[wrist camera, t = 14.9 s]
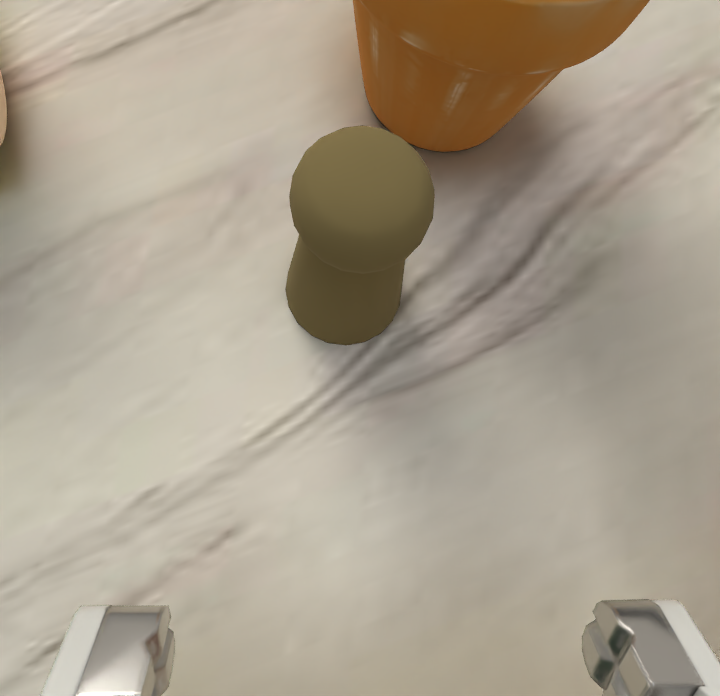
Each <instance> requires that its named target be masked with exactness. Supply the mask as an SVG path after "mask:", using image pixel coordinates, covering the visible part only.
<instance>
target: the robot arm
mask: <svg viewBox="0 0 720 696" xmlns="http://www.w3.org/2000/svg"><path fill="white" fill-rule="evenodd" d="M593 614H594V616H595V618H596V619H595V620H594V621H592V622H591V623H589V624H588V625H587V626H586V627H585V630H584V633H583V635H582V653H583V657H584V661H585V664H586V667H587V670H588V672H589V675H590V677H591V678H592V679H593V680H594V681H595V682H596V683H597V684H598V685H599V686H600V687H601V688H603V694H602V696H720V662H719V660H718V659H717V657H716V656H715V654H714V653H713V651H712V649H711V648H710V646H709V645H708V643H707V641H706V640H705V638H704V637H703V635H702V633H701V632H700V630H699V629H698V627H697V626H696V624H695V622H694V621H693V619H692V618H691V616H690V614H689V613H688V611H687V610H686V608H685V607H684V605H682V604H681V603H680V602H679V601H678V600H672V599H667V600H649V599H639V600H605V601H600V602H598V603H597V604H596V606H595V608H594V610H593ZM170 619H171V614H170V609H169V606H112V605H89V606H80V607H79V609H78V610H77V611H76V613H75V614H74V616H73V618H72V620H71V623H70V625H69V627H68V630H67V632H66V634H65V637H64V639H63V642H62V644H61V646H60V649H59V651H58V654H57V656H56V658H55V661H54V663H53V666H52V668H51V670H50V673H49V675H48V678H47V680H46V682H45V685H44V687H43V690H42V692H41V694H40V696H161V695H162V694H163V693H164V692H165V691H166V690H167V688H168V687H169V684H170V679H171V675H172V670H173V662H174V654H175V639H174V632H173V631H172V630H171V629H169V628H168V627H169V623H170Z"/></svg>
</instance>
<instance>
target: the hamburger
mask: <svg viewBox="0 0 720 696" xmlns="http://www.w3.org/2000/svg"><path fill="white" fill-rule="evenodd" d="M6 127H7V105H6V97H5V89H4V84H3V79H2V74H1V70H0V146H1V144H2V142H3V140H4V137H5V132H6Z"/></svg>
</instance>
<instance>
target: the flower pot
mask: <svg viewBox="0 0 720 696" xmlns="http://www.w3.org/2000/svg"><path fill="white" fill-rule="evenodd" d="M649 1H650V0H353V5H354V14H355V22H356V30H357V38H358V46H359V54H360V61H361V68H362V76H363V82H364V88H365V92H366V96H367V99H368V102H369V104H370V106H371V108H372V110H373V111H374V113H375V114H376V116H377V117H378V119H379V120H380V121H381V122H382V123H383V124H384V126H385V127H387V128H388V129H389V130H390V131H391V132H392V133H394V134H395V135H398V136H400V137H401V138H402V139H403V140H405V141H406V142H408V143H410V144H412V145H414V146H417V147H420V148H424V149H427V150H433V151H441V152H449V151H459V150H465V149H468V148H471V147H474V146H477V145H479V144H481V143H483V142H485V141H486V140H488V139H489V138H491V137H492V136H493V135H494V134H495V133H497V132H498V131H499V130H500V129H501V128H502V127H503V126H504V125H505V124H507V123H508V122H509V121H510V120H511V119H512V118H513V117H514V116H515V115H516V114H517V113H518V112H519V111H520V110H521V109H523V108H524V107H525V106H526V105H527V104H528V103H529V102H530V101H531V100H532V99H533V98H534V97H535V96H536V95H537V94H538V93H539V92H540V91H541V90H542V89H543V88H544V87H545V86H546V85H548V84H549V83H550V82H551V81H552V80H553V79H554V78H555V77H556V76H557V75H558V74H559V73H560V72H561V71H562V70H563V69H565V68H568V67H571V66H574V65H577V64H579V63H582V62H583V61H585V60H587V59H589V58H591V57H593V56H595V55H596V54H598V53H599V52H601V51H603V50H604V49H605V48H607V47H608V46H609V45H610V44H612V43H613V42H614V41H615V40H616V39H617V38H618V37H619V36H620V35H621V34H622V33H623V32H624V31H625V30H626V29H627V28H628V26H629V25H630V24H631V23H632V22H633V21H634V19H635V18H636V17H637V16H638V14H639V13H640V12H641V11H642V9H643V8H644V7H645V6H646V5H647V3H648V2H649Z"/></svg>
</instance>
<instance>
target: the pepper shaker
mask: <svg viewBox="0 0 720 696" xmlns="http://www.w3.org/2000/svg"><path fill="white" fill-rule="evenodd" d="M290 207H291V212H292V217H293V222H294V226H295V228H296V229H297V231H298V233H299V238H298V241H297V244H296V248H295V251H294V255H293V258H292V261H291V265H290V268H289V272H288V277H287V284H286V295H287V300H288V305H289V308H290V310H291V312H292V314H293V315H294V317H295V319H296V321H297V322H298V323H299V324H300V325H301V326H302V327H303V328H304V329H305V330H306V331H307V332H308V333H309V334H311V335H312V336H314V337H317V338H319V339H321V340H323V341H325V342H327V343H333V344H341V345H350V344H356V343H362V342H365V341H367V340H369V339H371V338H373V337H375V336H377V335H379V334H380V333H381V332H382V331H383V330H384V329H385V328H386V327H387V326H388V325H389V324H390V323H391V322H392V321H393V318H394V316H395V314H396V312H397V310H398V307H399V305H400V297H401V289H402V281H403V273H404V265H405V259H406V258H407V257H408V256H409V255H410V254H411V253H412V252H413V251H414V250H415V249H416V248H417V247H418V246H419V245H420V244H421V242H422V240H423V238H424V236H425V234H426V232H427V229H428V227H429V225H430V223H431V221H432V219H433V209H434V186H433V183H432V179H431V175H430V171H429V169H428V168H427V166H426V164H425V163H424V161H423V160H422V158H421V157H420V155H419V154H418V152H417V151H416V150H415V149H414V148H413V147H412V146H410V145H409V144H408V143H407V142H406V141H405V140H403V139H402V138H401V137H400V136H398V135H395V134H393V133H391V132H389V131H387V130H384V129H382V128H376V127H369V126H354V127H346V128H342V129H340V130H337V131H335V132H333V133H331V134H328V135H326V136H324V137H322V138H320V139H319V140H318V141H317V142H316V143H315V144H313V145H312V146H311V147H310V148H309V149H308V150H307V151H306V152H305V154H304V155H303V157H302V159H301V161H300V163H299V164H298V166H297V168H296V170H295V172H294V174H293V177H292V184H291V190H290Z"/></svg>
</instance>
